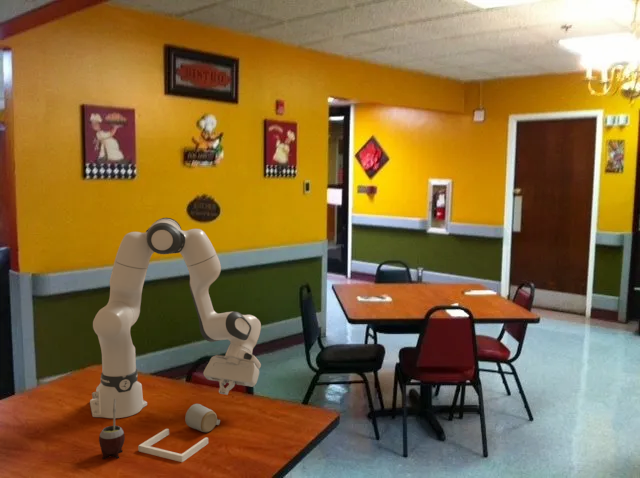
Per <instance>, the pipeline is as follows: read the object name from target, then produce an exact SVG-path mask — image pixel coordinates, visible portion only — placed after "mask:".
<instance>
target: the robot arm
mask: <svg viewBox="0 0 640 478" xmlns="http://www.w3.org/2000/svg"><path fill="white" fill-rule="evenodd" d="M154 253H156V254H158V255H169V254H170V255H171V254H180V255H181V257H182V258H183V260H184V262H185V266H186V268H187V270H188V272H189V273H188V274H189V282H188V283H189V285H188V286H189V291H190V294H191V297H192V301H193V304H194V307H195V308H194V309H195V311H196V313H197V319H198V326H199V331H200V332H199V333H200V334H201V336H202V338H203V339H204V340H206V342H210V343H214V342H218V341H224V340H225V341H226V340H227V341H229V342H230V344H229V345H228V347H227V350H226V353H225V355H220V354H216V355H214V356H211V358H210V359H209V362H208V364H207V365H206V366H205V368H204V370H203V373H202V374H203V376H204V377H205V379H207V380H209V381H214V382H215V381H216V382H218V383H219V389H218V393H219V394H221V395H226V396H228V395H229V392H230V391H231V390H232V389H233V388H235V385H238V386H246V387H252V388H253V387H255V386H256V384H257V382H258V381H259V376H260V369H261V366H262V364H261V362H260V360H259V359H258V358H257V357H256V356H255V355H254V354H253V350H254V348H255V347H256V345H257V343H258V340H259V339H260V338H259V337H260V334H261V330H262V324H261V321H260V319H259V318H257V317H256V316H255V315H252V314H242V313H241V312H239V311H226V312H221V313H218V312H216V311H215V310H214V307H213V303H212V299H211V297H210V294H209V292H210V291H209V289H210V287H211V285H212V284H213V283H214V282H215V281H216V280H217V279H218V278H219V277H220V274H221V271H222V265H221V262H220V258H219V256H218V254H217V251H216V249H215V247H214V246H213V244H212V242H211V240H210V239H209V237H208V235H207V234H206V232H205V231H204V230H202V229H201V228H192V229H191V228H190V229H188V230H182V226H181V225H180V223H179V222H178V221H176V220H175V219H173V218H171V217H162V218H159V219H157V220H156V221H154V222H153V223H152V224H151V225H150V226H149V227H148V228H147V230H146V231H145V232H140V231H131V232H128V233H126V234H125V235H124V236H123V238H122V239H121V242H120V244H119V247H118V250H117V252H116V256H115V259H114V262H113V267H112V270H111V274H110V278H109V288H110V289H109V299H108V302H107V304H106V305H105V306H104V307H103V306H102V308H100V309H99V310H98V312H97V313H96V314H95V317H94V318H93V321H92V329H93V331H94V333H95V334H96V335H97V338H98V343H99V345H100V350H101V351H100V352H101V366H102V367H101V368H102V371H101V374H100V383H99V384H98V386H97V387H96V388H95V389H96V390H95V391H94V392H92V393H91V398H92V399H90V400H89V405H90V406H89V407H90V411H91V415H92V417H93V418H105V419H113V406H114V399H116V405H115V409H116V412H115V419H120V418H121V419H122V418H127V417H131V416H133V415H136V414H138V413H139V412H140V411H142V409H143V408H145V407H147V406H148V402H147V401H146V400H144V398H143V397H144V396H143V395H144V394H143V385H142V383H141V382H140V381H138V375H139V374H138V369H137V364H136V363H137V362H136V347H135V345H134V344H133V340H132V336H131V328H132V327H133V326H134V325H135V323H136V322H137V321H138V319H139V317H140V313H141V303H142V296H143V295H142V293H143V287H144V284H145V279H146V276H147V271H148V269H149V263H150V260H151V257H152V256H153V254H154ZM227 383H228V384H227ZM226 384H227V386H225V385H226Z"/></svg>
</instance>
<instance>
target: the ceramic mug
mask: <svg viewBox="0 0 640 478" xmlns="http://www.w3.org/2000/svg"><path fill="white" fill-rule="evenodd" d="M184 419H185V420H184V422H185V424H186V426H188V427H190V428H192V429H194V430H197V431H199V432H202V433H209V432H211V431H212V430H213V429H215V427H216V426H219V425H220V423H221V419H219V418H218V416H217V413H216V412H215V411H214V410H212V409H211V408H208V407H206V406H204V405H203V404H200V403H194V404H192V405H190V407H189V408H187V411H186V413H185V418H184Z"/></svg>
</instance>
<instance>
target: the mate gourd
mask: <svg viewBox="0 0 640 478" xmlns="http://www.w3.org/2000/svg"><path fill="white" fill-rule="evenodd" d="M115 405H116V399H114V406H113V418H112V425H110V426H106V427H104V428H103V429H102V430H101V431H100V433H99V437H98V442H99V443H98V444H99V446H100V450H101V454H102V457H101V458H102V460H106V459H108V458H111V457H112V458H114V459H116V460H117V459H120V456H119V454H120V453H123V446H124V444H125V440H126V439H125V438H126V436H125V432H124V429H123V428H122V427H121V426H119V425H116V418H115V412H116V409H115Z"/></svg>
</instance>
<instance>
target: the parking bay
mask: <svg viewBox="0 0 640 478" xmlns="http://www.w3.org/2000/svg"><path fill="white" fill-rule="evenodd" d="M167 436H170V428H165V429H163V430H162V431H160V432H158V433H157V434H155V435H153V436H152V437H150V438H148V439H147V440H145V441H144V442H142V443H140V444H139V445H138V448H137V449H138V452H141V453H144V454H148V455H152V456H157V457H160V458H163V459H168V460H172V461H176V462H179V463H180V462H181V463H184V462H185V461H186V460H187V459H189V458H190V457H192V456H193V455H194V454H196V453H197V452H199V451H200V450H201V449H203V448H205V446H207V445H208V444H209V437H204V438H203V439H201V440H199V441H198V442H196V443H195V444H194V445H192V446H191V447H190V448H188V449H186V450H185V451H183V452H182V453H178V452H174V451H172V450H171V451H170V450H167V449H163V448H159V447H154V446H153V445H155V444H156V443H158V442H159V441H161V440H163V439H164V438H166V437H167Z"/></svg>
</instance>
